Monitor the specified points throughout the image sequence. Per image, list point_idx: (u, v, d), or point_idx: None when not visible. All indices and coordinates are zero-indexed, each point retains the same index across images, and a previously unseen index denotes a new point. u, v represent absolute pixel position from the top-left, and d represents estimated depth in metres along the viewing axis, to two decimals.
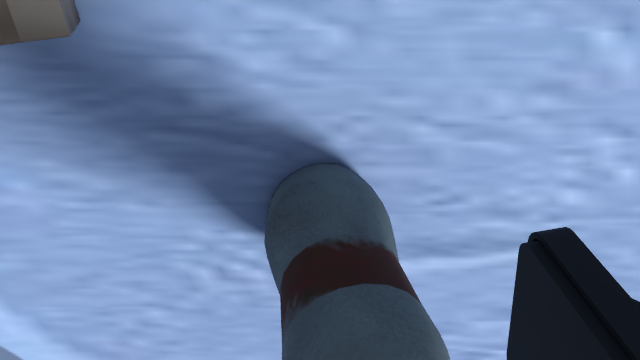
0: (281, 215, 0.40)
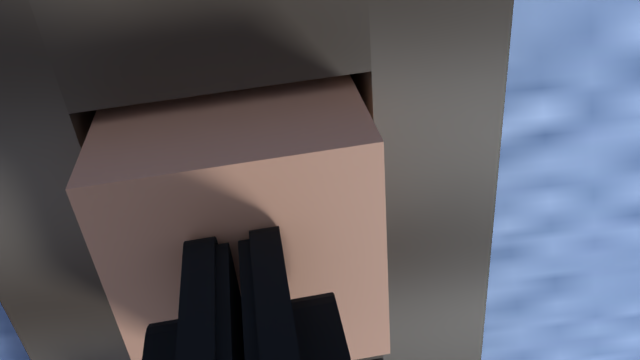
0: None
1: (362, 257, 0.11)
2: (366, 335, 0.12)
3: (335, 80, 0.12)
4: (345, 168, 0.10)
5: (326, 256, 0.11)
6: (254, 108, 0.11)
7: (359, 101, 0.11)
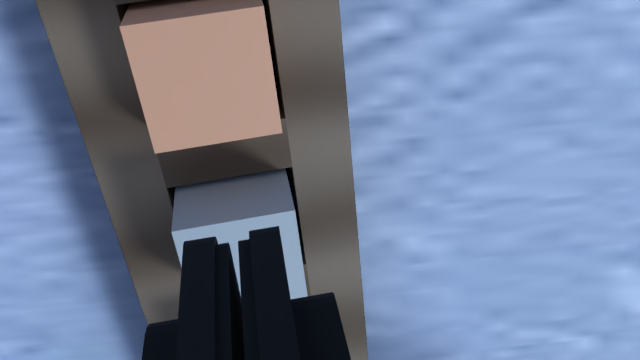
0: None
1: (260, 70, 0.22)
2: (268, 120, 0.23)
3: None
4: (246, 19, 0.21)
5: (243, 69, 0.22)
6: (207, 0, 0.22)
7: None
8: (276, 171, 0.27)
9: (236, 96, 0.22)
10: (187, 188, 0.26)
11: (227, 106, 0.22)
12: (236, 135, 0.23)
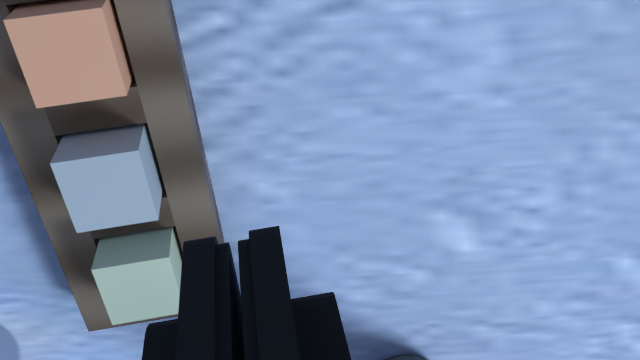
0: None
1: (105, 51, 0.32)
2: (115, 86, 0.33)
3: None
4: (91, 16, 0.31)
5: (92, 50, 0.32)
6: (70, 2, 0.32)
7: None
8: (137, 126, 0.37)
9: (90, 69, 0.32)
10: (70, 136, 0.36)
11: (84, 76, 0.32)
12: (93, 96, 0.33)
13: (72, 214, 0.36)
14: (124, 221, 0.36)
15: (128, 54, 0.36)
